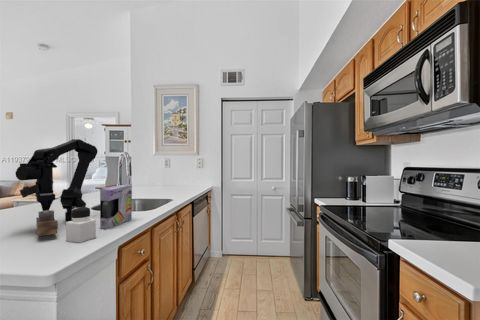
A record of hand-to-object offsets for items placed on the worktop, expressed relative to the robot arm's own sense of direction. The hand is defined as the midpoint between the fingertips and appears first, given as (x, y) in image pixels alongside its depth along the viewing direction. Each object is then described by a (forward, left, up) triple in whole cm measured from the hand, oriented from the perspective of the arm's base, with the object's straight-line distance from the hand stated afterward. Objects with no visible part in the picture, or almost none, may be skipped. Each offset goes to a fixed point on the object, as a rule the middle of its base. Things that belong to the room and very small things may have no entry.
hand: (45, 214), depth 118 cm
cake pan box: (-26, +9, -7) cm, 29 cm away
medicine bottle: (-10, +26, -7) cm, 28 cm away
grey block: (0, +9, -2) cm, 9 cm away
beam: (0, +8, -6) cm, 10 cm away
